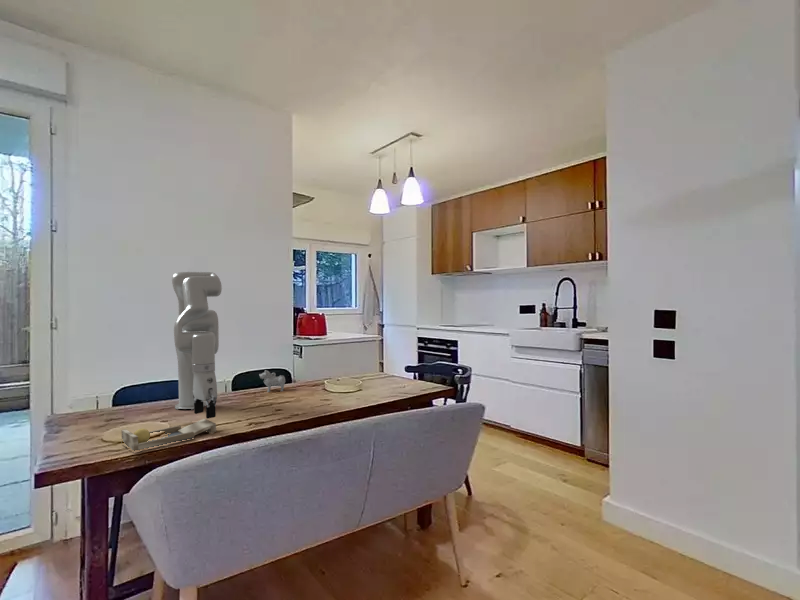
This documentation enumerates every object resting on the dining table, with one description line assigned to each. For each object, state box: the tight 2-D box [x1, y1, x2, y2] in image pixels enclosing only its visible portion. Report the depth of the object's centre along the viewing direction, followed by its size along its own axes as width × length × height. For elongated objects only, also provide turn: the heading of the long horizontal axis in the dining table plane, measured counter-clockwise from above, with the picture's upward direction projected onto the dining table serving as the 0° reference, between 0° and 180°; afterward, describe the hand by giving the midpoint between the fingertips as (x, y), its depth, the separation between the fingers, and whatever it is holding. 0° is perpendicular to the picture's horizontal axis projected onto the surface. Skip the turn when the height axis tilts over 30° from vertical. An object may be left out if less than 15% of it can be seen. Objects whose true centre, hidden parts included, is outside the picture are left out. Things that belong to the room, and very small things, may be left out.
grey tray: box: [121, 425, 195, 451], centre depth 156 cm, size 12×19×5 cm, turn 137°
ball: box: [133, 428, 150, 444], centre depth 152 cm, size 5×5×5 cm
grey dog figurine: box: [258, 370, 286, 393], centre depth 236 cm, size 5×13×11 cm, turn 100°
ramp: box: [177, 418, 217, 436], centre depth 166 cm, size 10×9×3 cm
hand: (204, 415), depth 168 cm, fingers open, 9 cm apart
